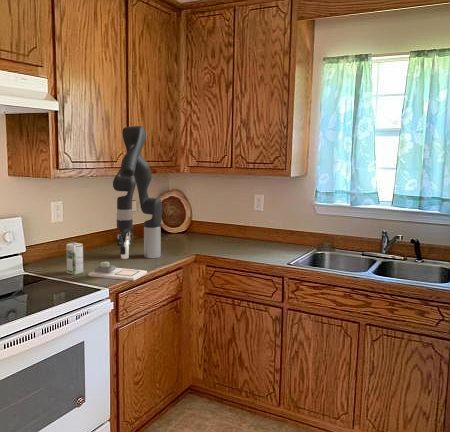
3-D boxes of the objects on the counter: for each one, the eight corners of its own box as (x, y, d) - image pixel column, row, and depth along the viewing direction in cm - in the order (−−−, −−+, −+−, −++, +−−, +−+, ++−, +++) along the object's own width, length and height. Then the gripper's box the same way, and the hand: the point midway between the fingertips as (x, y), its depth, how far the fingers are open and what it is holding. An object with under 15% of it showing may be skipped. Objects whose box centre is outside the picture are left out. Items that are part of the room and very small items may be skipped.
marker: (123, 256, 229) (123, 235, 228) (130, 257, 228) (130, 236, 227) (119, 258, 226) (119, 236, 224) (126, 258, 225) (126, 237, 223)
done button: (103, 267, 231) (103, 261, 231) (111, 268, 230) (110, 261, 230) (98, 269, 227) (98, 263, 227) (106, 270, 226) (106, 263, 226)
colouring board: (103, 268, 237) (103, 262, 237) (146, 273, 231) (146, 266, 230) (88, 276, 224) (88, 269, 223) (134, 280, 217) (133, 274, 217)
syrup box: (66, 273, 228) (65, 243, 226) (76, 270, 233) (75, 241, 231) (74, 275, 225) (73, 245, 223) (84, 272, 230) (83, 243, 228)
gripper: (124, 216, 232) (124, 250, 235) (110, 219, 219) (110, 255, 221) (138, 216, 230) (138, 251, 233) (124, 220, 217) (124, 257, 219)
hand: (124, 253), depth 227 cm, fingers closed on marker, 3 cm apart
